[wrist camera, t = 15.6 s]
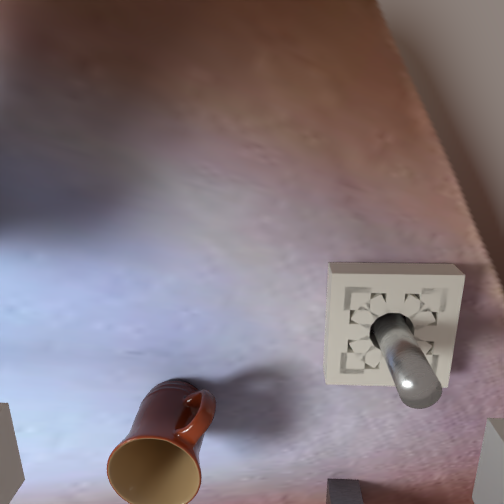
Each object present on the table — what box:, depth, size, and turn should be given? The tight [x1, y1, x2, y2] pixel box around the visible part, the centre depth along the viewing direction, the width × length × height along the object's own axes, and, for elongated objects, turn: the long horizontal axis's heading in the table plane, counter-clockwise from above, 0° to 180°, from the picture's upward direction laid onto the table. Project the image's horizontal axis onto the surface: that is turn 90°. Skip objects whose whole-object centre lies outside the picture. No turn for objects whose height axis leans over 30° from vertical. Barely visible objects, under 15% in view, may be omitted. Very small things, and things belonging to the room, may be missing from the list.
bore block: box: [323, 262, 465, 388], centre depth 44 cm, size 12×12×3 cm
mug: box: [107, 381, 216, 504], centre depth 45 cm, size 12×9×10 cm
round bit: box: [371, 313, 442, 409], centre depth 40 cm, size 3×3×12 cm
